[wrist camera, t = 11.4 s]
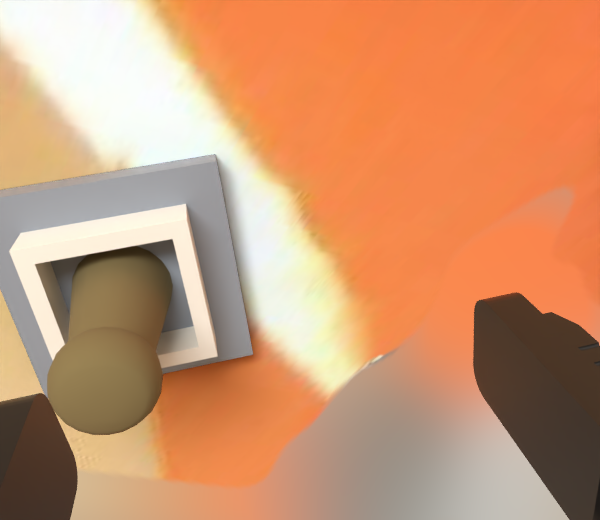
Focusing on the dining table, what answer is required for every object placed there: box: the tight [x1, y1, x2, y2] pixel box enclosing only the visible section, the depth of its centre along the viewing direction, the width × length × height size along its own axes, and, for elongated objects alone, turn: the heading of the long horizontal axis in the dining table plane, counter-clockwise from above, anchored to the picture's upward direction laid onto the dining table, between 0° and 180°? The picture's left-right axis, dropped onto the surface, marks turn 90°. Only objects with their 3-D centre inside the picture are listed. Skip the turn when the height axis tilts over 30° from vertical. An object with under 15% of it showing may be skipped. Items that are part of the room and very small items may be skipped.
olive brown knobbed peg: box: [47, 246, 173, 435], centre depth 30 cm, size 6×6×11 cm
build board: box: [0, 154, 253, 398], centre depth 34 cm, size 14×14×4 cm
